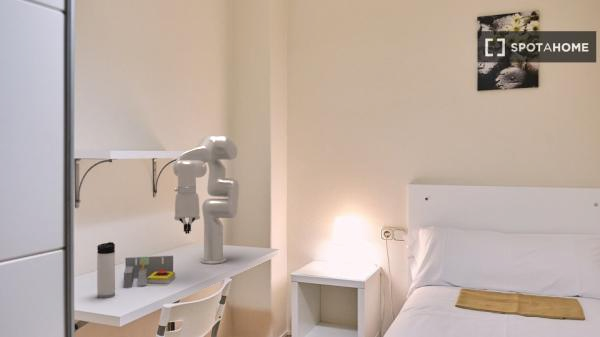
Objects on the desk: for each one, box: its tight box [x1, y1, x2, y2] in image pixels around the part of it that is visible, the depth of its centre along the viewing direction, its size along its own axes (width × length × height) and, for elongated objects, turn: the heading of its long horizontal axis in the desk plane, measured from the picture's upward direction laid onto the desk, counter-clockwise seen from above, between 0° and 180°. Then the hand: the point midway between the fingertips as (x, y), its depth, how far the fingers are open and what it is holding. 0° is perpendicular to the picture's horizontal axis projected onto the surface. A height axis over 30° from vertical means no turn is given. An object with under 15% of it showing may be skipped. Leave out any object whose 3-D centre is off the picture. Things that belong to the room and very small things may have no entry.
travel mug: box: [96, 241, 116, 299], centre depth 188 cm, size 6×7×20 cm
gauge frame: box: [123, 255, 174, 289], centre depth 209 cm, size 16×20×9 cm
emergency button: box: [145, 271, 177, 287], centre depth 210 cm, size 9×4×15 cm
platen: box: [137, 261, 147, 287], centre depth 207 cm, size 11×3×8 cm, turn 15°
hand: (187, 233), depth 211 cm, fingers closed
